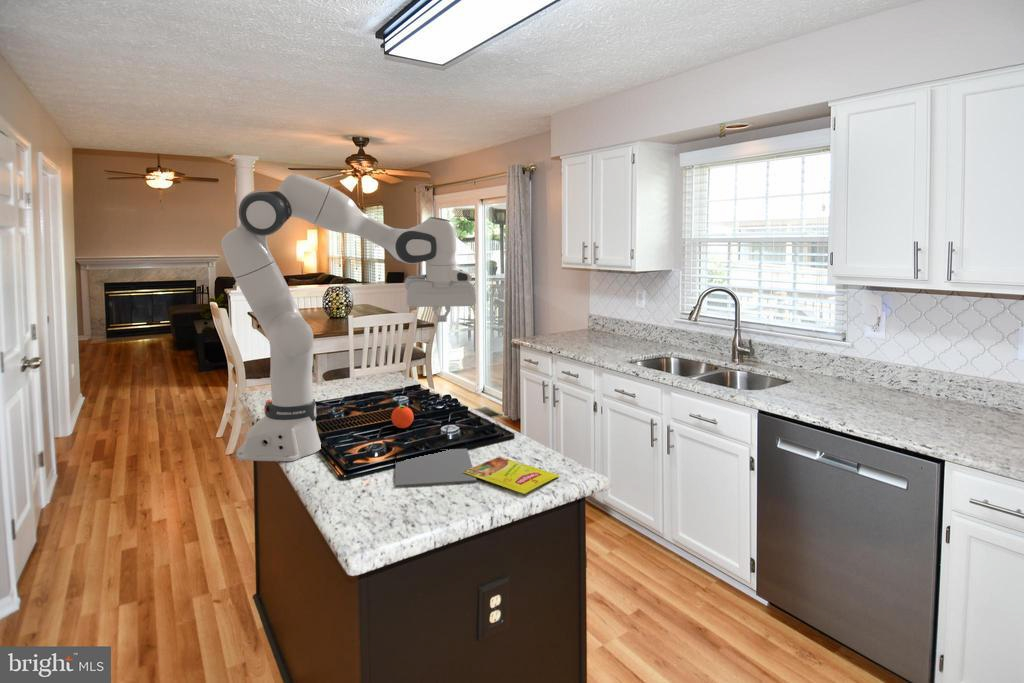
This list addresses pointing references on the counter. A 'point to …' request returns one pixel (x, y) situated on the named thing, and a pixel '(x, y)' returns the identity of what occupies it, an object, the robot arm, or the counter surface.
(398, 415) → the clementine
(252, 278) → the robot arm
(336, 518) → the counter surface
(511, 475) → the food package
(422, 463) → the mat
